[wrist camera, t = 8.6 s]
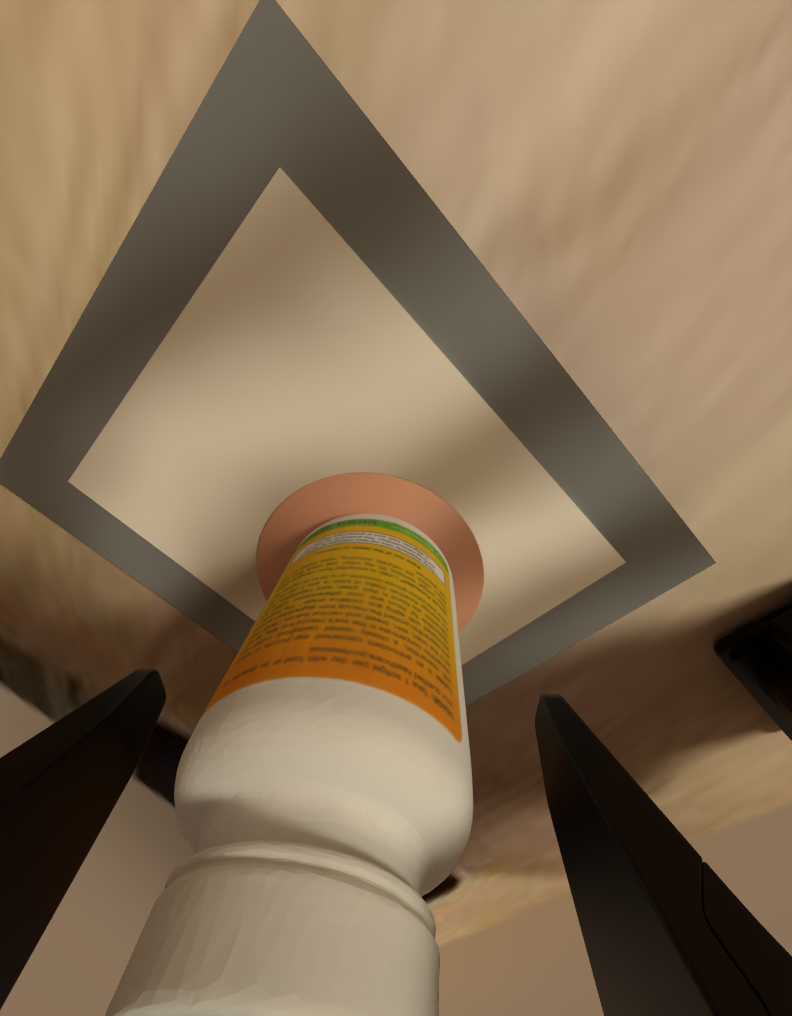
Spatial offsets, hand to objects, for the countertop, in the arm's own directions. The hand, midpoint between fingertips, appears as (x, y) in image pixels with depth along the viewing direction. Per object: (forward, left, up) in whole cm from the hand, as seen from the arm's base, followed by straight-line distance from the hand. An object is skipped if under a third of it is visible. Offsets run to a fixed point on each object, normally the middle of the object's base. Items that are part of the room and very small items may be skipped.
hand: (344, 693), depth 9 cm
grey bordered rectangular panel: (+2, -1, -6) cm, 6 cm away
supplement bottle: (0, 0, -5) cm, 5 cm away
